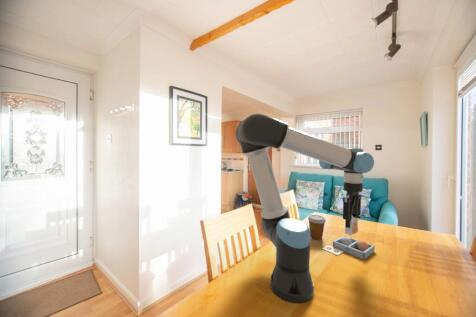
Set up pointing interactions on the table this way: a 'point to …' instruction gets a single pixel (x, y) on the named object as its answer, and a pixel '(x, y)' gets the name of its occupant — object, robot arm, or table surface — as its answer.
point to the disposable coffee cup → (316, 226)
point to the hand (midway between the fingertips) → (351, 232)
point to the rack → (353, 248)
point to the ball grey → (346, 241)
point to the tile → (333, 250)
